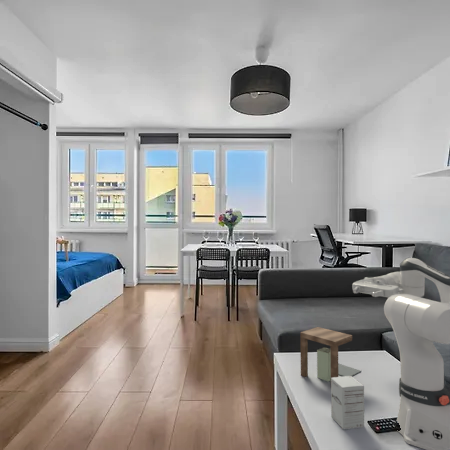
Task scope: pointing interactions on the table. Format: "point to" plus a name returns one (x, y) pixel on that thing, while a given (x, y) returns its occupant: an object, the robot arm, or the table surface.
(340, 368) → the slate mat
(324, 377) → the sage block
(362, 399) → the supplement box
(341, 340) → the shelf stand
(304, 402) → the table surface
